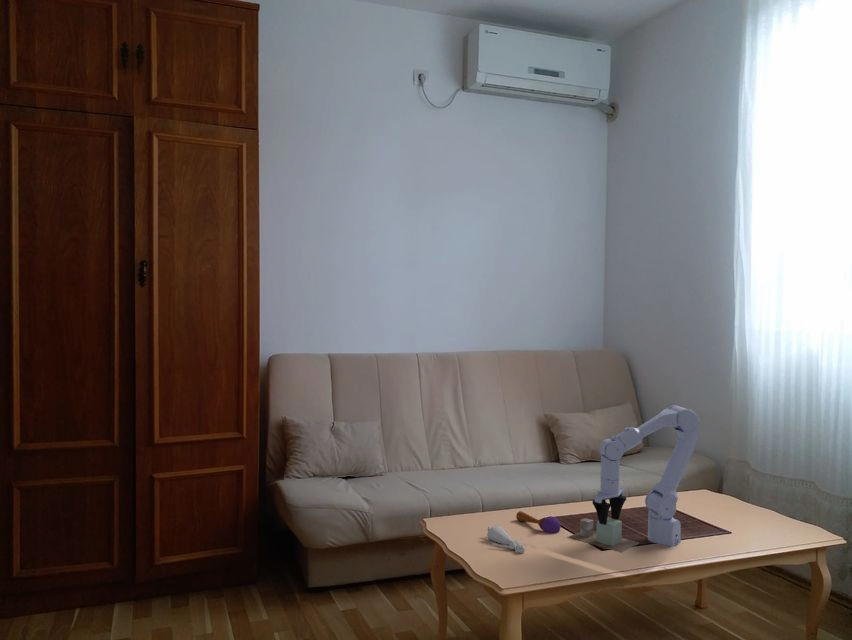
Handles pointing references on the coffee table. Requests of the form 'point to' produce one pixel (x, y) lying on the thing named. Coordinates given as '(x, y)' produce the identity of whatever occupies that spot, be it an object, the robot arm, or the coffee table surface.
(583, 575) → the coffee table surface
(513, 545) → the woman figurine
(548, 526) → the purple and brown maraca
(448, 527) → the coffee table surface
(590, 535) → the board
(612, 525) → the frosted mint cube
